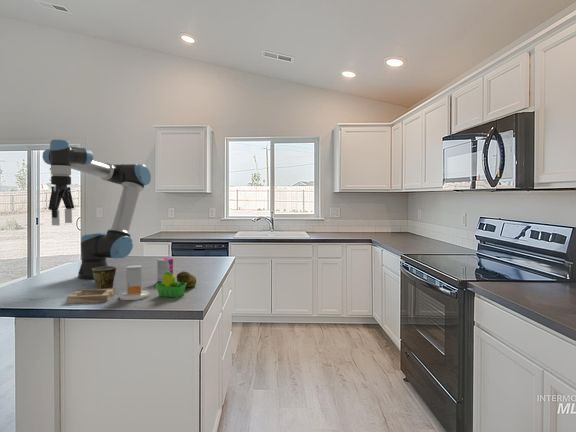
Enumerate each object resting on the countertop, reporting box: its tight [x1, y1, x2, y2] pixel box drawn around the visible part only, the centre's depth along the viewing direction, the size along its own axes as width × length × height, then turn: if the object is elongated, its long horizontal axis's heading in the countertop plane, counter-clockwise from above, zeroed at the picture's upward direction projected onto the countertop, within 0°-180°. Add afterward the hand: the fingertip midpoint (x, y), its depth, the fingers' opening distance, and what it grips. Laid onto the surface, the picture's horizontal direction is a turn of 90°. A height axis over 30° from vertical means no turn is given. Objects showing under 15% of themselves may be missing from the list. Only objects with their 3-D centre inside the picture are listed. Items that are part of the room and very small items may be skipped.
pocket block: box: [66, 288, 116, 305], centre depth 155 cm, size 12×15×2 cm
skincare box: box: [125, 264, 143, 295], centre depth 158 cm, size 6×4×12 cm
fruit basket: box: [155, 271, 187, 298], centre depth 159 cm, size 11×9×11 cm
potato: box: [176, 271, 197, 288], centre depth 174 cm, size 8×13×8 cm, turn 150°
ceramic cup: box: [92, 265, 117, 289], centre depth 168 cm, size 13×10×10 cm
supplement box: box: [156, 257, 174, 284], centre depth 186 cm, size 6×6×12 cm
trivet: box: [118, 289, 151, 301], centre depth 158 cm, size 12×12×1 cm
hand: (62, 224), depth 162 cm, fingers open, 13 cm apart
